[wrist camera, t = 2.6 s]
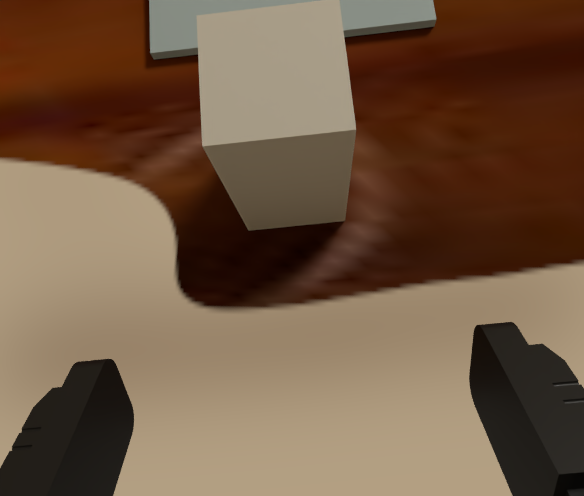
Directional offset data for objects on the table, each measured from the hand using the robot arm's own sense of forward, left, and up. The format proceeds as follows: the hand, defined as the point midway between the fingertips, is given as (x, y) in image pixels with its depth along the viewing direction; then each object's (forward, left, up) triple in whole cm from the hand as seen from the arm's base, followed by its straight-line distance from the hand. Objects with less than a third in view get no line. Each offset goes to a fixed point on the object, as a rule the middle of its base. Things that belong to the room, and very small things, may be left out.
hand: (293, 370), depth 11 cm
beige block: (+7, -7, -13) cm, 16 cm away
